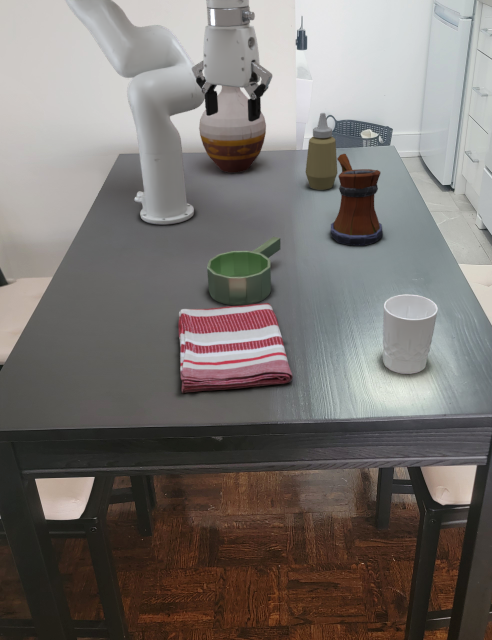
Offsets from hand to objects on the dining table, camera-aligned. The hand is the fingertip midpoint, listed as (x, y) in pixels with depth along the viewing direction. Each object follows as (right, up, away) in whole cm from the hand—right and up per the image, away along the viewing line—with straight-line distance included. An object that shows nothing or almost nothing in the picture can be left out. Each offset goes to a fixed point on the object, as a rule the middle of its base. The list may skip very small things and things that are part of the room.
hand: (233, 116), depth 133 cm
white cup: (+28, -48, -24) cm, 61 cm away
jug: (-2, +8, +58) cm, 58 cm away
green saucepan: (+4, -32, 0) cm, 32 cm away
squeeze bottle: (+21, -2, +43) cm, 48 cm away
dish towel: (+1, -46, -20) cm, 50 cm away
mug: (+25, -18, +19) cm, 37 cm away
